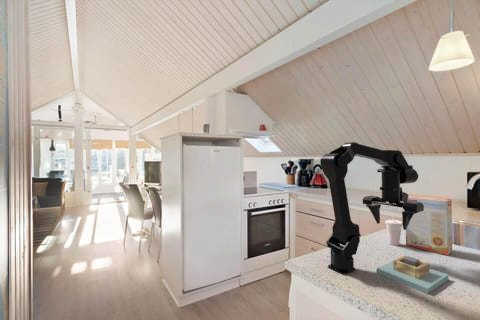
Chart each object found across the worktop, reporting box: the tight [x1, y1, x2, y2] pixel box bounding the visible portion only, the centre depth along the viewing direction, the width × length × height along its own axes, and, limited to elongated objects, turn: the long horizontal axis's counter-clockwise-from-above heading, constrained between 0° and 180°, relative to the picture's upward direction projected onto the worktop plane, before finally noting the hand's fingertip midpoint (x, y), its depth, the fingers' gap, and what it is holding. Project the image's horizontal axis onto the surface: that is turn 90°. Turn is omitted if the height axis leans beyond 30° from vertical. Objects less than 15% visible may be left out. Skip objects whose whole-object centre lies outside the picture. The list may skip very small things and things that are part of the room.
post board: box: [376, 255, 449, 295], centre depth 75 cm, size 14×14×6 cm
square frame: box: [392, 255, 430, 279], centre depth 75 cm, size 7×7×3 cm
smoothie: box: [384, 211, 403, 247], centre depth 102 cm, size 6×6×14 cm
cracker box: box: [405, 194, 453, 256], centre depth 96 cm, size 14×6×21 cm, turn 34°
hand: (391, 226), depth 87 cm, fingers open, 9 cm apart
